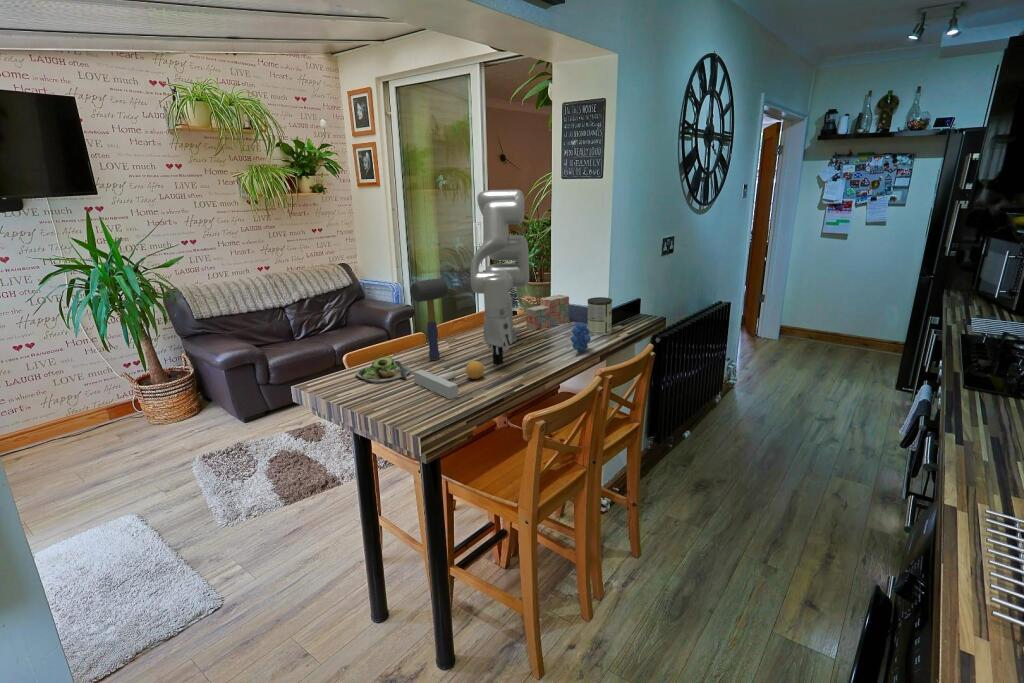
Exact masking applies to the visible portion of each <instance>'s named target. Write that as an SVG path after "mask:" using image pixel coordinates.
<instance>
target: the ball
mask: <svg viewBox="0 0 1024 683" xmlns="http://www.w3.org/2000/svg"><path fill="white" fill-rule="evenodd" d="M465 372H466V375H467V376H468V377H469V378H470V379H472V380H477V379H480V378H481V377H483V375H484V373H485V368H484V365H483V364H482V362H480V361H478V360H473V361H470V362H469V363H467V365H466V367H465Z"/></svg>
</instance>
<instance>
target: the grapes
mask: <svg viewBox="0 0 1024 683" xmlns="http://www.w3.org/2000/svg"><path fill="white" fill-rule="evenodd" d="M571 333H572V335H571V337H570V341H571V343H573V344H572V345H571V346H572V348H573V350H575V351H577V353H579V354H580V353H582V352H584V351H585V350H587V349H588V347H589V346H588V344H589V343H590V342H591V336H590V335H591V334H590V331H589V329H588V324H586V323H585V322H579V321H578V322H576V323H575V325H574V327H573V328H572V329H571Z"/></svg>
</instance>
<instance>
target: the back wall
mask: <svg viewBox="0 0 1024 683" xmlns="http://www.w3.org/2000/svg"><path fill="white" fill-rule="evenodd" d="M413 378H414V380H413V381H414V384H415V383H416V385H417V386H420V387H422V386H423V387H422V388H424V387H425V388H424V389H426V388H427V389H426V390H428V389H429V391H430V390H431V392H433V391H434V392H433V393H435V392H436V393H435V394H437V393H438V394H437V395H439V394H440V395H439V396H441V395H442V396H441V397H443V396H444V398H445V397H446V399H448V400H450V399H451V400H453V398H454V399H456V398H455V397H457V398H458V397H459V390H458V383H455V382H452V381H450V380H445V379H443V378H441V377H438V375H435V374H433V373H430V372H429V371H426V370H424V369H419V370H415V371H413Z"/></svg>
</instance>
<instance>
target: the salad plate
mask: <svg viewBox="0 0 1024 683" xmlns="http://www.w3.org/2000/svg"><path fill="white" fill-rule="evenodd" d="M411 369H412V368H411V367H409V366H405V365H402V363H401V361H399V360H394V359H393V358H392V357H391V356H387V355H386V356H381V357H378V358H375V359H374V360H373V361H372V363H371V366H368V367H364V368H360V369H358V370H357V371H356V372H355V376H356V377H357V378H358V379H359V380H363V381H365V382H368V383H374V384H386V383H391V382H393V381H397V380H399V379H400V378H401V379H403V378H407V377H408V374H410V372H411ZM384 377H385V378H384ZM378 378H384V379H378ZM388 378H389V379H388ZM396 379H397V380H396ZM390 381H391V382H390ZM385 382H386V383H385Z"/></svg>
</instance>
